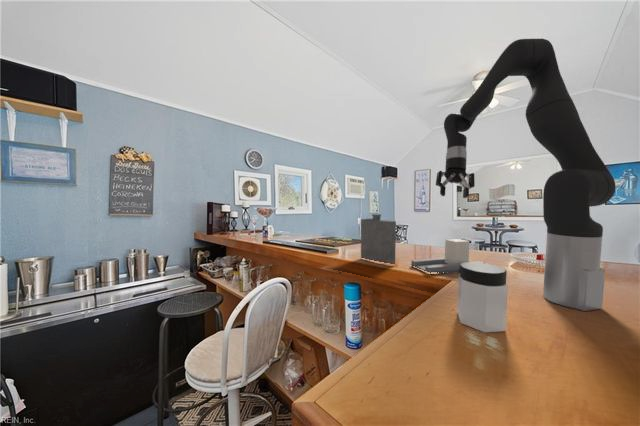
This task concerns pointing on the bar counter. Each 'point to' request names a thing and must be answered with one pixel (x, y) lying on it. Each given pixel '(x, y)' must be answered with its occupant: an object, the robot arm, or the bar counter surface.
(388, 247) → the hip flask
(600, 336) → the bar counter surface
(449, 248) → the block
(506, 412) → the bar counter surface
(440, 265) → the chute
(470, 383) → the bar counter surface
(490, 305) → the jar
